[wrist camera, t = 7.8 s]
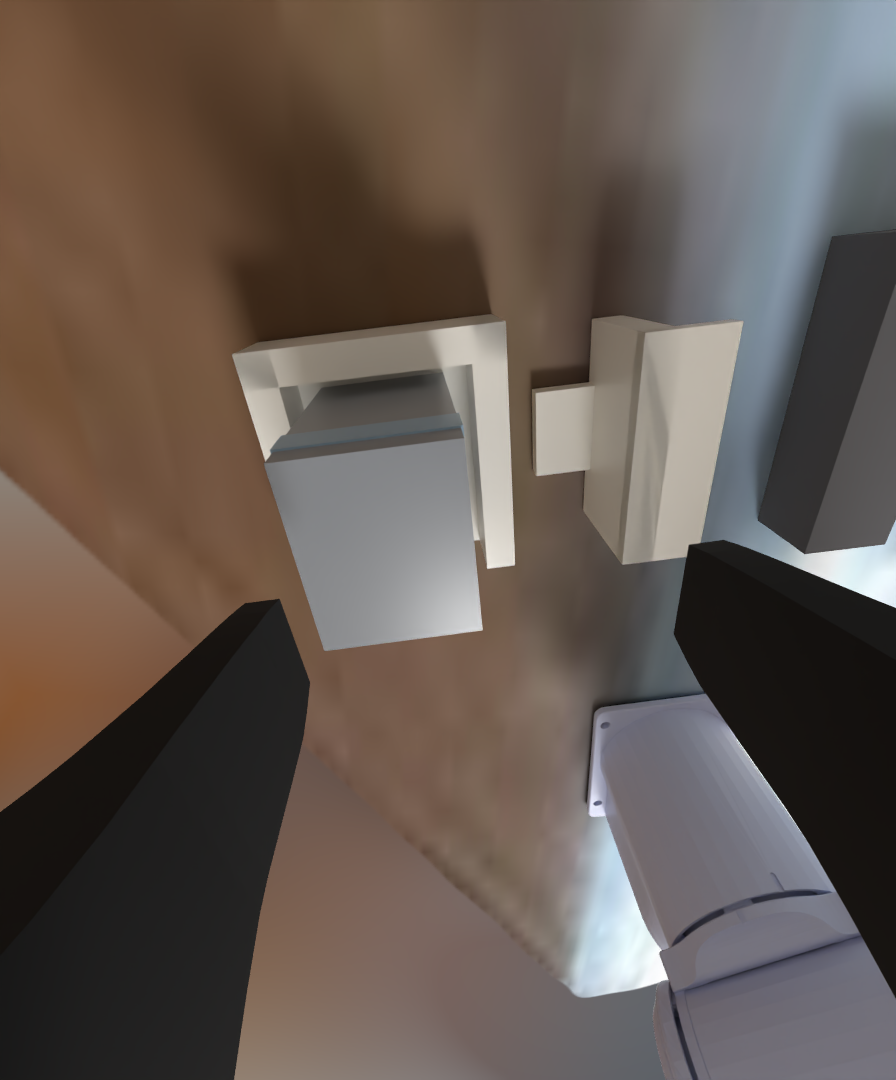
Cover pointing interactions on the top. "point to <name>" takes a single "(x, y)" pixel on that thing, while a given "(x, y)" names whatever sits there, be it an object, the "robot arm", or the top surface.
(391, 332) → the end holder
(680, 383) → the side clip
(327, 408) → the connector plug
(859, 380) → the block
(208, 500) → the top surface
